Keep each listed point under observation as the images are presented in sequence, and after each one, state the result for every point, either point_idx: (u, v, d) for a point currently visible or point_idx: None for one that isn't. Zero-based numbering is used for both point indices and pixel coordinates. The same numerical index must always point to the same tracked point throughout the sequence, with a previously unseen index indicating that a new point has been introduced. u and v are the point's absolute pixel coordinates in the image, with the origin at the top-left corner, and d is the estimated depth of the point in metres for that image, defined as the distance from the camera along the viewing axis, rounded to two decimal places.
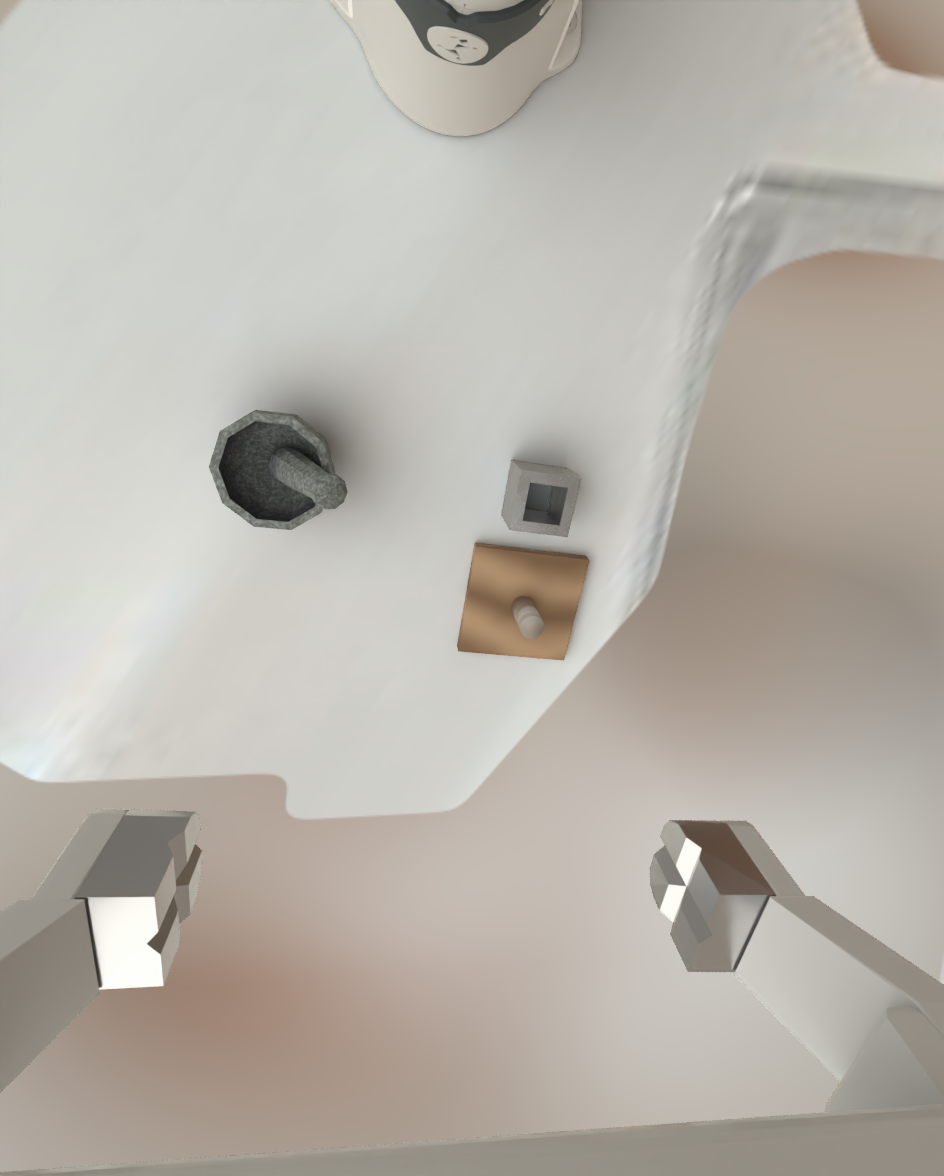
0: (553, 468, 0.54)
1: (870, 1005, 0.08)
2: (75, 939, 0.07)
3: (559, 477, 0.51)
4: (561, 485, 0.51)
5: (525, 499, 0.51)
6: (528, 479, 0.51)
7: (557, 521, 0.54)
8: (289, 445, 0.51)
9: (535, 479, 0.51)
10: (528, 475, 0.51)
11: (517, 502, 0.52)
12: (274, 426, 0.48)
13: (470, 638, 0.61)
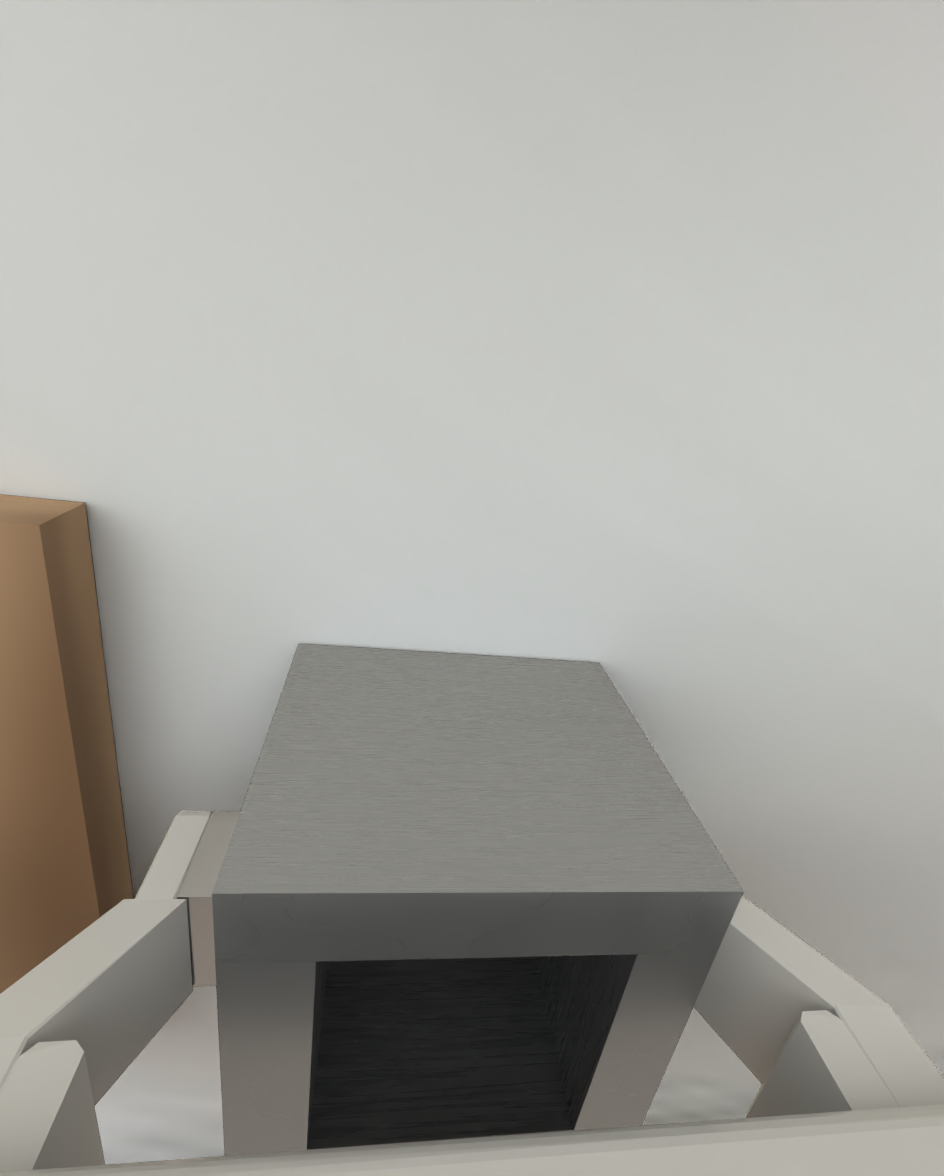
0: None
1: (791, 1008, 0.07)
2: (177, 938, 0.07)
3: (645, 1082, 0.08)
4: (593, 1101, 0.08)
5: (505, 950, 0.06)
6: (662, 942, 0.06)
7: (326, 1067, 0.08)
8: None
9: (655, 979, 0.07)
10: (692, 937, 0.07)
11: (477, 908, 0.06)
12: None
13: None
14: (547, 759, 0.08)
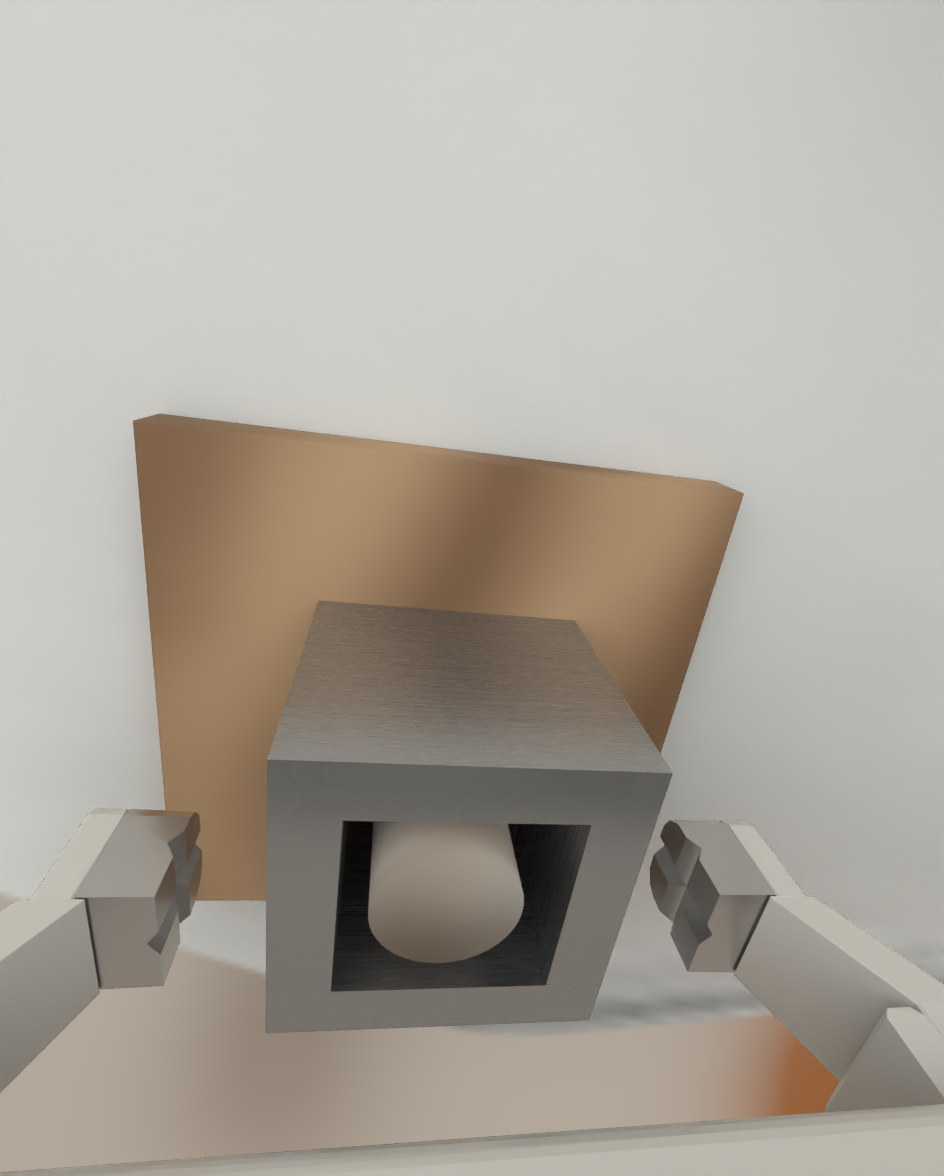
0: None
1: (870, 1005, 0.08)
2: (75, 939, 0.07)
3: (603, 942, 0.09)
4: (560, 959, 0.09)
5: (487, 817, 0.08)
6: (610, 815, 0.08)
7: (344, 938, 0.10)
8: None
9: (606, 847, 0.09)
10: (634, 811, 0.08)
11: (466, 780, 0.08)
12: None
13: (228, 492, 0.11)
14: (525, 685, 0.10)
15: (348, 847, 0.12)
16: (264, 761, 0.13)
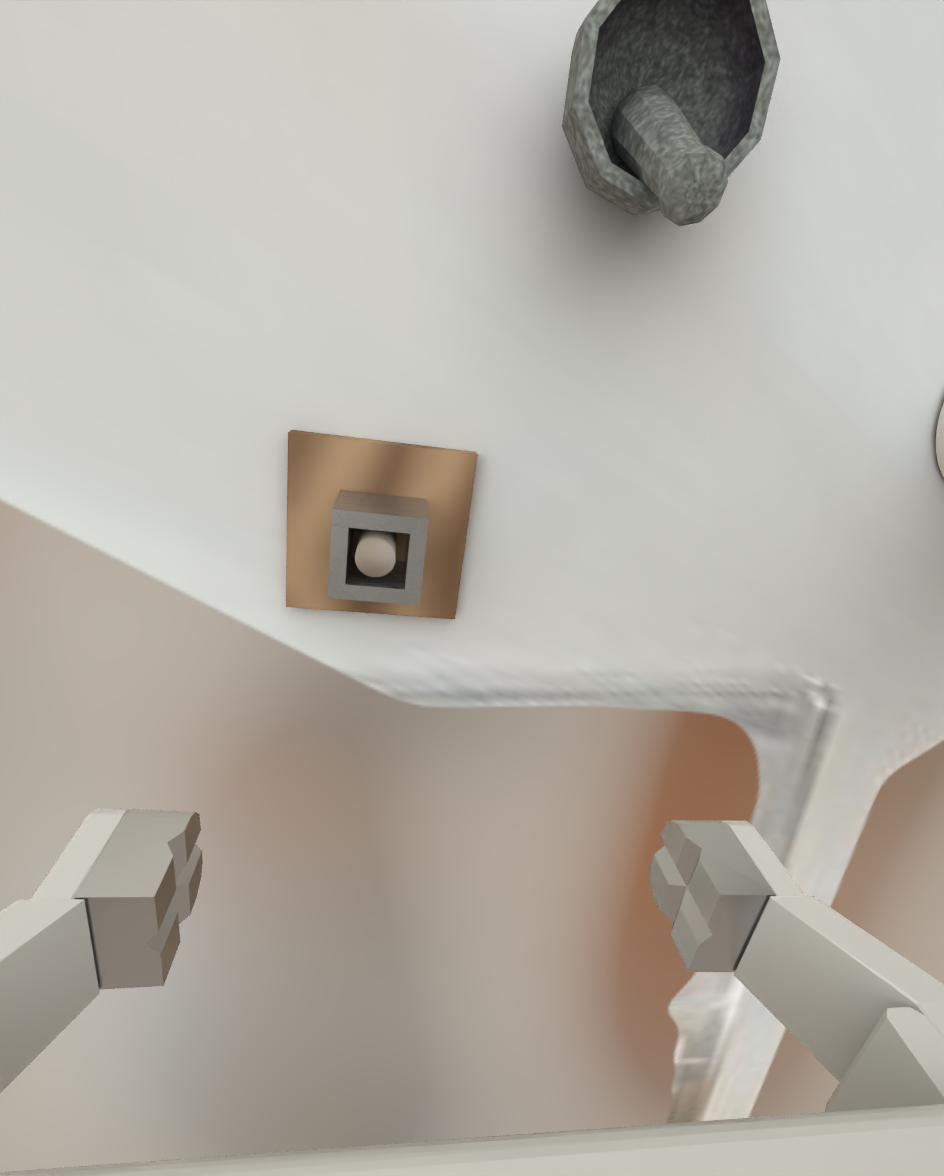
0: None
1: (870, 1005, 0.08)
2: (75, 939, 0.07)
3: (419, 574, 0.35)
4: (407, 579, 0.35)
5: (383, 529, 0.33)
6: (414, 530, 0.33)
7: (348, 579, 0.35)
8: None
9: (415, 541, 0.34)
10: (421, 530, 0.33)
11: (377, 517, 0.33)
12: (704, 109, 0.30)
13: (314, 453, 0.36)
14: (399, 506, 0.35)
15: (349, 567, 0.37)
16: (321, 548, 0.38)
